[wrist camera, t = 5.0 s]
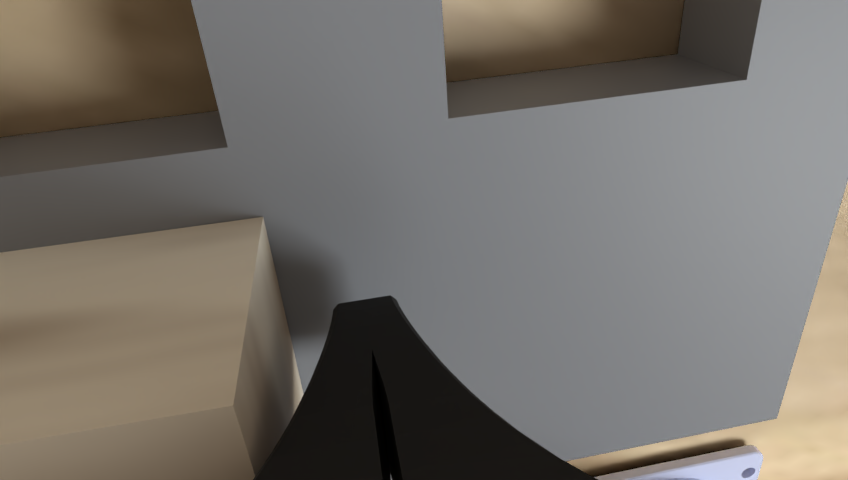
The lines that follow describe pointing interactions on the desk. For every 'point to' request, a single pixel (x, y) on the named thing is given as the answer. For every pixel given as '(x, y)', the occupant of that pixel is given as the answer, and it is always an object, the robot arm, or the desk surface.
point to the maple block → (145, 357)
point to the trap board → (502, 201)
